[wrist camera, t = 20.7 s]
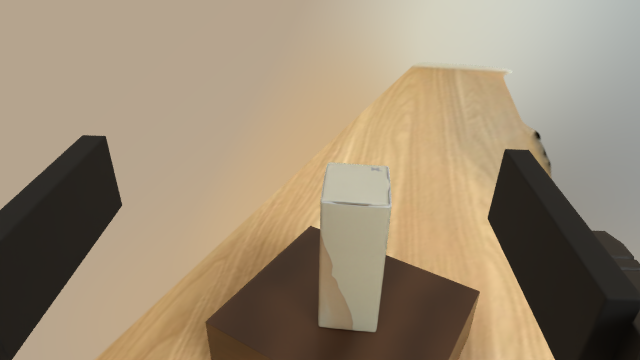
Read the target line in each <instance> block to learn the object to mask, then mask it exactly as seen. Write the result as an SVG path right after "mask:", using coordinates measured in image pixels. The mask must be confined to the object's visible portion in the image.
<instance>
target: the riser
mask: <svg viewBox="0 0 640 360" xmlns="http://www.w3.org/2000/svg"><path fill="white" fill-rule="evenodd" d="M319 260H320V229H317V228H315V227H312V226H310V227H309V228H308V229H307V230H305V231H304V232H303V233H302V234H301V235H300V236H299V237H298V238H297V239H296V240H294V241H293V242H292V243H291V244H290V245H289V246H288V247H287V248H286V249H285V250H284V251H282V252H281V253H280V254H279V255H278V256H277V257H276V258H275V259H274V260H273V261H271V262H270V263H269V264H268V265H267V266H266V267H265V268H264V269H263V270H262V271H261V272H259V273H258V274H257V275H256V276H255V277H254V278H253V279H252V280H251V281H250V282H248V283H247V284H246V285H245V286H244V287H243V288H242V289H241V290H240V291H239V292H238V293H236V294H235V295H234V296H233V297H232V298H231V299H230V300H229V301H228V302H227V303H225V304H224V305H223V306H222V307H221V308H220V309H219V310H218V311H217V312H216V313H215V314H213V315H212V316H211V317H210V318H209V319H208V320H207V321H206V328H207V335H208V341H209V347H210V354H211V360H458V358H459V356H460V354H461V352H462V349H463V347H464V345H465V342H466V340H467V338H468V336H469V332H470V328H471V324H472V321H473V317H474V313H475V309H476V305H477V301H478V297H479V293H480V291H477V290H475V289H472V288H469V287H467V286H464V285H462V284H459V283H457V282H454V281H451V280H449V279H446V278H444V277H441V276H438V275H436V274H433V273H431V272H428V271H426V270H423V269H420V268H418V267H415V266H413V265H410V264H408V263H405V262H402V261H400V260H397V259H395V258H392V257H389V256H387V255H386V257H385V265H384V273H383V281H382V289H381V298H380V306H379V314H378V322H377V329H376V331H375V332H367V331H355V330H345V329H335V328H327V327H320V326H319V325H318V307H319Z"/></svg>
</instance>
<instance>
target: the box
mask: <svg viewBox="0 0 640 360" xmlns="http://www.w3.org/2000/svg"><path fill="white" fill-rule="evenodd" d="M390 215H391V186H390V174H389V167H388V166H375V165H359V164H345V163H328V164H327V168H326V172H325V176H324V181H323V188H322V195H321V212H320V260H319V307H318V325H319V326H320V327H327V328H335V329H345V330H355V331H367V332H375V331H376V329H377V322H378V314H379V306H380V298H381V289H382V281H383V273H384V265H385V257H386V249H387V240H388V232H389V224H390Z"/></svg>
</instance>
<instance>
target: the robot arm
mask: <svg viewBox="0 0 640 360" xmlns="http://www.w3.org/2000/svg"><path fill="white" fill-rule="evenodd" d="M121 206H122V202H121V198H120V194H119V191H118V186H117V182H116V178H115V173H114V169H113V165H112V161H111V157H110V153H109V148H108V144H107V140H106V136H87V135H83V136H81V137H80V138H79V139H78V140H77V141H76V142H75V143H74V144H73V145H72V146H70V147H69V148H68V149H67V150H66V151H65V152H64V153H63V154H62V155H61V156H59V157H58V158H57V159H56V160H55V161H54V162H53V163H52V164H51V165H49V166H48V167H47V168H46V169H45V170H44V171H43V172H42V173H41V174H40V175H38V176H37V177H36V178H35V179H34V180H33V181H32V182H31V183H30V184H29V185H27V186H26V187H25V188H24V189H23V190H22V191H21V192H20V193H19V194H18V195H16V196H15V197H14V198H13V199H12V200H11V201H10V202H9V203H8V204H7V205H5V206H4V207H3V208H2V209H1V210H0V360H12V359H13V357H14V356H15V355H16V353H17V352H18V350H19V349H20V348H21V346H22V345H23V343H24V342H25V340H26V339H27V337H28V336H29V335H30V333H31V332H32V331H33V329H34V328H35V327H36V325H37V324H38V322H39V321H40V320H41V318H42V317H43V315H44V314H45V313H46V311H47V310H48V308H49V307H50V305H51V304H52V303H53V301H54V300H55V299H56V297H57V296H58V294H59V293H60V292H61V290H62V289H63V287H64V286H65V285H66V283H67V282H68V280H69V279H70V278H71V276H72V275H73V273H74V272H75V271H76V269H77V268H78V266H79V265H80V263H81V262H82V260H83V259H84V258H85V257H86V255H87V254H88V252H89V251H90V250H91V248H92V247H93V245H94V244H95V243H96V241H97V240H98V238H99V237H100V236H101V234H102V233H103V231H104V230H105V229H106V227H107V226H108V224H109V223H110V222H111V220H112V219H113V217H114V216H115V215H116V213H117V212H118V210H119V209H120V208H121ZM488 220H489V222H490V225H491V227H492V229H493V231H494V233H495V235H496V237H497V239H498V241H499V243H500V245H501V248H502V250H503V252H504V254H505V256H506V258H507V260H508V262H509V264H510V266H511V268H512V271H513V273H514V275H515V277H516V279H517V281H518V283H519V285H520V287H521V289H522V291H523V294H524V296H525V298H526V300H527V302H528V304H529V306H530V308H531V310H532V312H533V315H534V317H535V319H536V321H537V323H538V325H539V327H540V329H541V331H542V333H543V335H544V338H545V340H546V342H547V344H548V346H549V348H550V350H551V352H552V354H553V356H554V358H555V360H640V264H639V262H638V261H637V260H634V256H633V255H632V254H631V253H630V252H629V250H628V249H627V248H626V247H625V246H624V244H622V243H621V242H620V241H618V240H617V239H615V238H614V237H612V236H611V235H610V234H608V233H607V232H605V231H591V230H590V228H589V227H588V226H587V225H586V223H585V222H584V221H583V219H582V218H581V217H580V215H579V214H578V213H577V212H576V210H575V209H574V208H573V207H572V205H571V204H570V203H569V201H568V200H567V199H566V197H565V196H564V195H563V194H562V192H561V191H560V190H559V189H558V187H557V186H556V185H555V183H554V182H553V181H552V179H551V178H550V177H549V176H548V174H547V173H546V172H545V170H544V169H543V168H542V167H541V165H540V164H539V163H538V161H537V160H536V159H535V158H534V156H533V155H532V154H531V152H530V151H529V150H513V149H505V151H504V155H503V159H502V163H501V167H500V171H499V175H498V179H497V183H496V187H495V191H494V195H493V199H492V203H491V207H490V211H489V215H488Z"/></svg>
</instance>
